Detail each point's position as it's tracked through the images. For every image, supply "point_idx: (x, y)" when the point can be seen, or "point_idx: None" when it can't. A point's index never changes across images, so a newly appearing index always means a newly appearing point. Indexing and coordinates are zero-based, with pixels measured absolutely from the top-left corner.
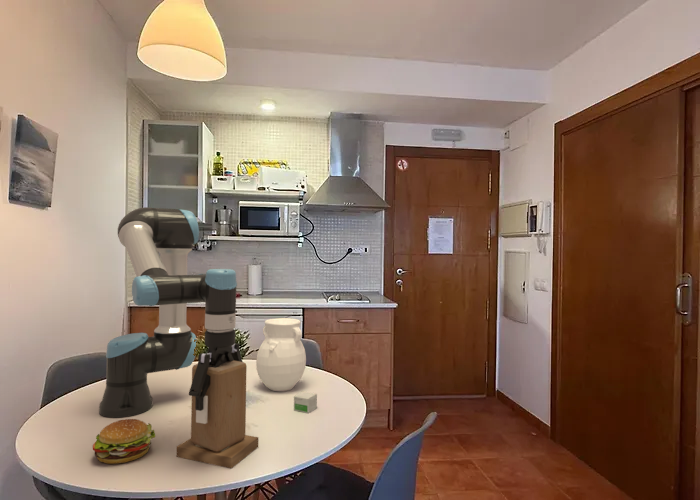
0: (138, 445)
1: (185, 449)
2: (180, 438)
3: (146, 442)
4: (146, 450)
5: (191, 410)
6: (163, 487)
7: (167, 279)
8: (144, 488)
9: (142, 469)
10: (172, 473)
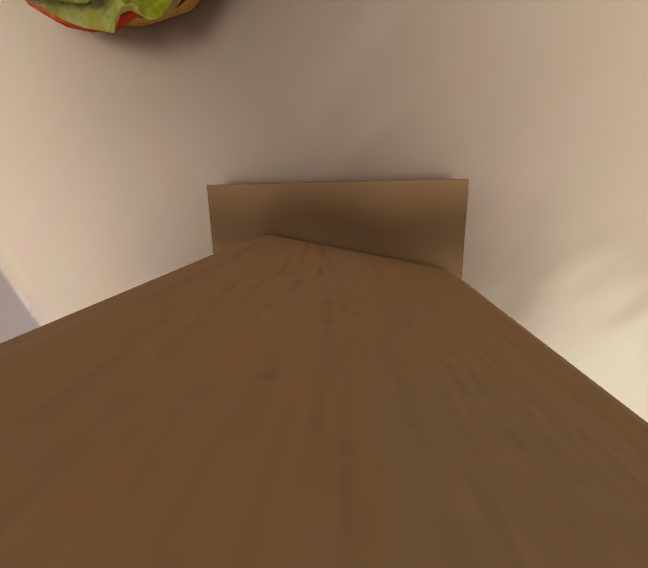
0: (54, 5)
1: (214, 241)
2: (393, 46)
3: (103, 17)
4: (169, 11)
5: (167, 274)
6: (45, 309)
7: None
8: (5, 253)
9: (80, 131)
10: (121, 272)
